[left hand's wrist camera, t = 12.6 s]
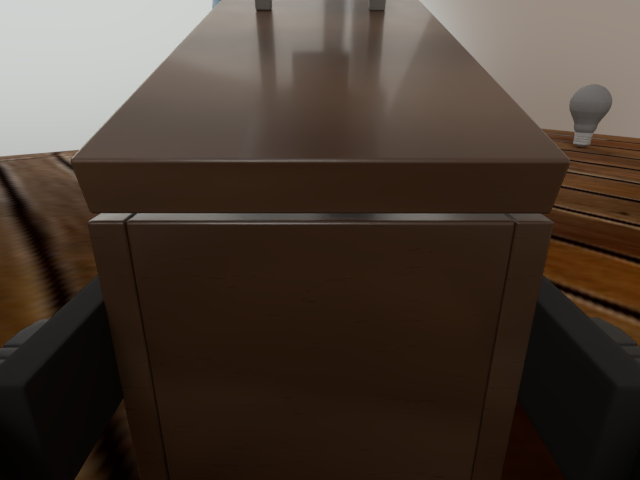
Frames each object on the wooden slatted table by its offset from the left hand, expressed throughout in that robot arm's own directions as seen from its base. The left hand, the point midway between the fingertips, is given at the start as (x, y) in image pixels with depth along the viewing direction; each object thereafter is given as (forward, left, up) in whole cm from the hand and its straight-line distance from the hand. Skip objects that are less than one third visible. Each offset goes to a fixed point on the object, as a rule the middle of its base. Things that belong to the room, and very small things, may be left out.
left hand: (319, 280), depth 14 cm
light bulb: (-21, +75, -6) cm, 78 cm away
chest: (-4, +3, -6) cm, 8 cm away
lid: (-4, +3, +6) cm, 7 cm away
